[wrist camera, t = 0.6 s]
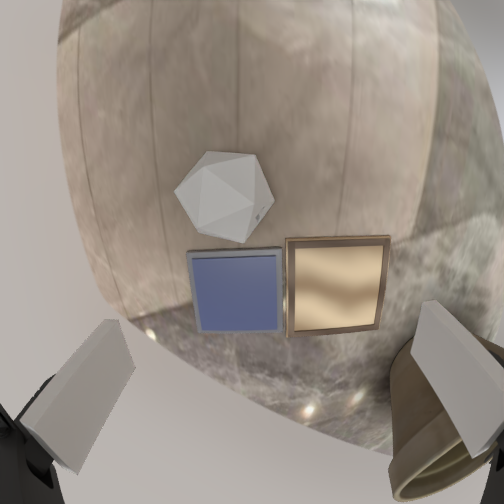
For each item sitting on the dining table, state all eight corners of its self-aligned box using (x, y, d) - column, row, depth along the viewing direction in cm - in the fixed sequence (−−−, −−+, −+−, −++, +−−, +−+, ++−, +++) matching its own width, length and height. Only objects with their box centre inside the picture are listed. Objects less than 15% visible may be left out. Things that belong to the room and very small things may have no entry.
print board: (285, 238, 31) (286, 240, 30) (389, 235, 30) (392, 237, 29) (286, 334, 35) (286, 338, 34) (377, 326, 34) (379, 330, 33)
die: (207, 241, 32) (255, 271, 25) (150, 196, 27) (183, 213, 19) (248, 186, 33) (307, 198, 25) (200, 135, 27) (252, 129, 20)
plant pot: (371, 426, 41) (398, 514, 20) (339, 344, 35) (385, 478, 14) (475, 366, 37) (525, 433, 16) (475, 266, 31) (571, 332, 10)
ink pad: (188, 250, 32) (185, 253, 31) (281, 247, 31) (281, 250, 30) (199, 329, 35) (197, 334, 34) (282, 328, 34) (282, 333, 33)
